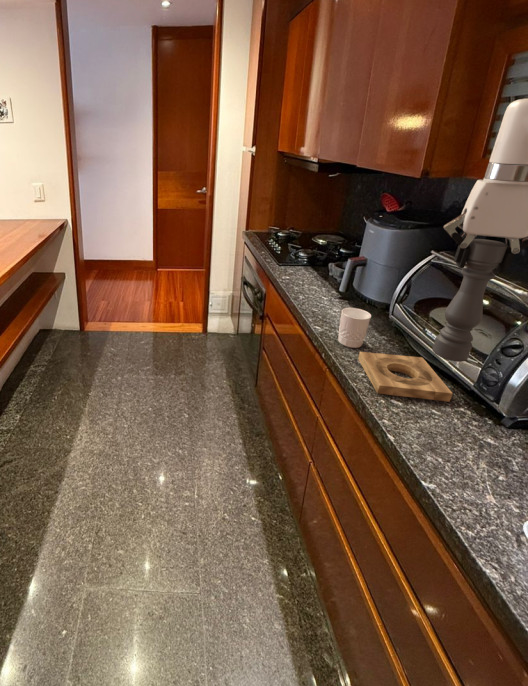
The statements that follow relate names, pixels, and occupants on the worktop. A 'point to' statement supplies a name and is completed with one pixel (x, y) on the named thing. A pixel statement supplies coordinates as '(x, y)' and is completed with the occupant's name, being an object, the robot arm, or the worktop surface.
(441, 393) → the base pad
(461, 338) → the candle holder
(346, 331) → the white cup
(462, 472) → the worktop surface
